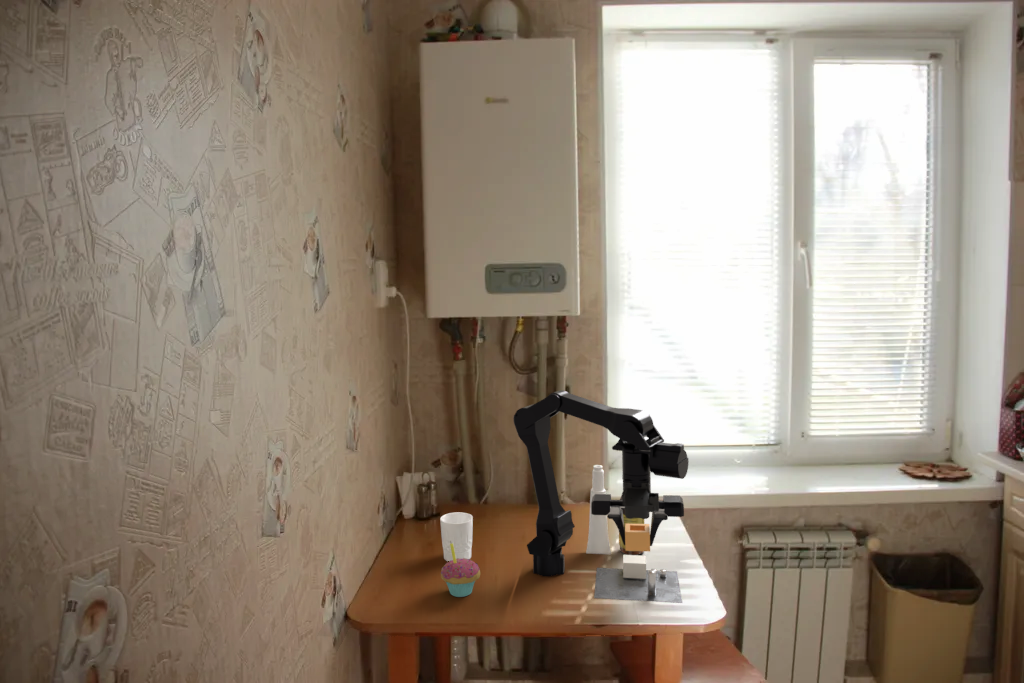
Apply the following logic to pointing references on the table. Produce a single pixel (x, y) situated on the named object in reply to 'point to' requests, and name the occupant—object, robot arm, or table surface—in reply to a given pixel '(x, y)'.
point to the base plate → (638, 586)
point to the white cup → (457, 534)
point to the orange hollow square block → (637, 537)
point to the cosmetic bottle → (598, 518)
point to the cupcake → (460, 575)
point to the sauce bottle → (627, 521)
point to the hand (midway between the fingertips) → (637, 545)
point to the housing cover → (634, 566)
